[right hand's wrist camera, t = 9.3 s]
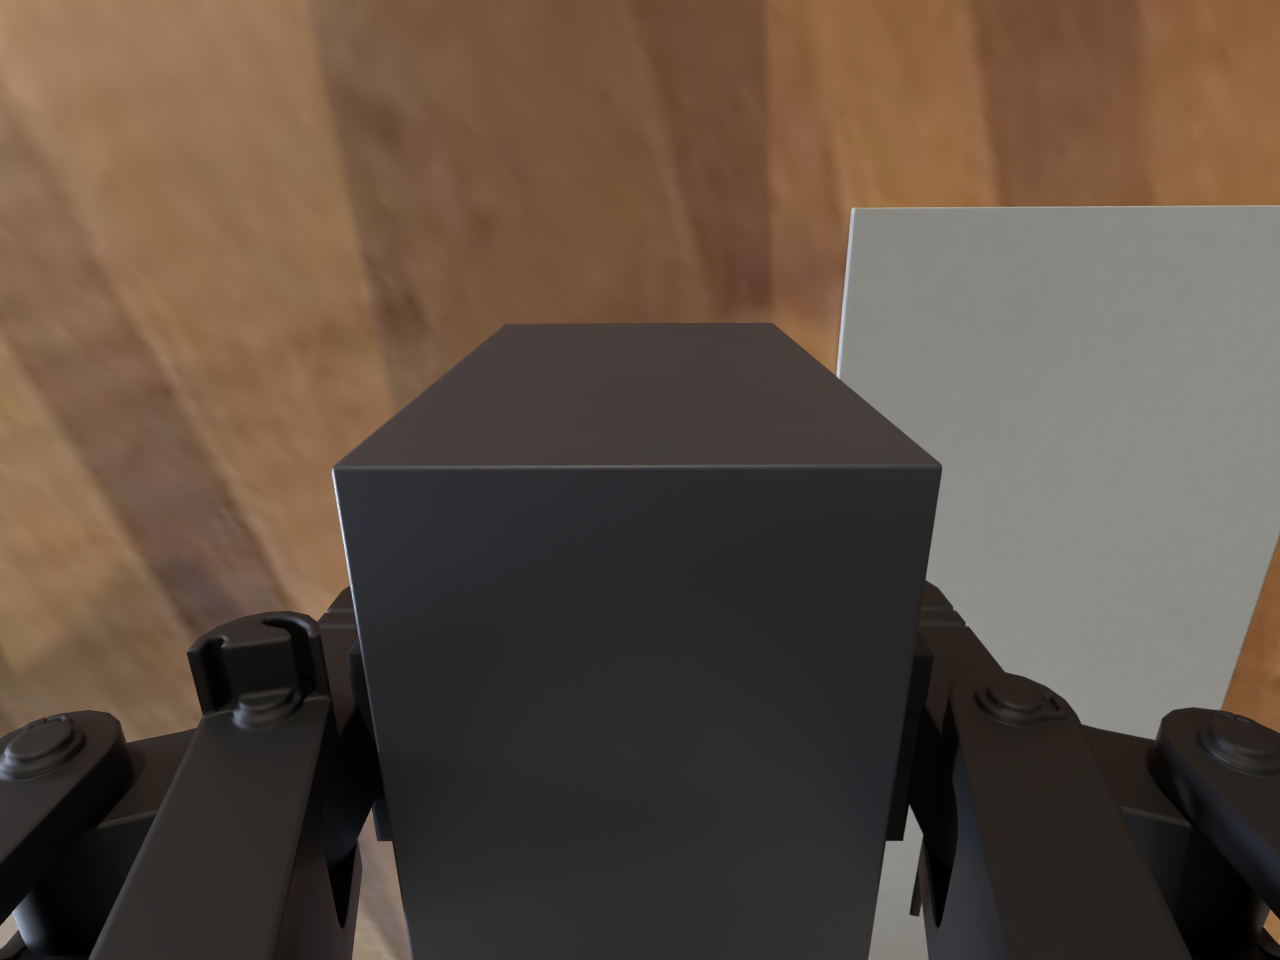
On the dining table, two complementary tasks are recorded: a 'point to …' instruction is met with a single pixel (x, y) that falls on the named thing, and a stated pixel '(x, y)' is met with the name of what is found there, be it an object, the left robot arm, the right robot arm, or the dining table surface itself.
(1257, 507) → the grey rubber mat
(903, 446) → the charcoal beam
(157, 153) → the dining table surface
